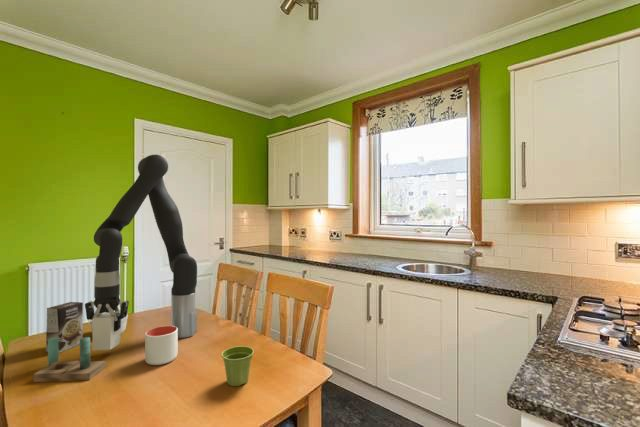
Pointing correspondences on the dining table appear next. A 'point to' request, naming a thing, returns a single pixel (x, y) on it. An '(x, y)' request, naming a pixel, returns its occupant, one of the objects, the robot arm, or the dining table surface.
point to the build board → (54, 371)
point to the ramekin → (123, 324)
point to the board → (84, 372)
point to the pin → (52, 350)
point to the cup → (161, 345)
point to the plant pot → (237, 364)
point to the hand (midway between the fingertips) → (106, 330)
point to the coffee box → (65, 325)
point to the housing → (104, 333)
